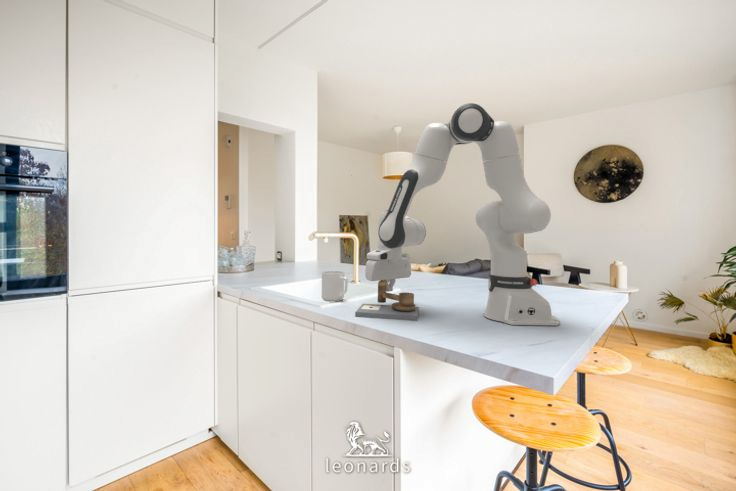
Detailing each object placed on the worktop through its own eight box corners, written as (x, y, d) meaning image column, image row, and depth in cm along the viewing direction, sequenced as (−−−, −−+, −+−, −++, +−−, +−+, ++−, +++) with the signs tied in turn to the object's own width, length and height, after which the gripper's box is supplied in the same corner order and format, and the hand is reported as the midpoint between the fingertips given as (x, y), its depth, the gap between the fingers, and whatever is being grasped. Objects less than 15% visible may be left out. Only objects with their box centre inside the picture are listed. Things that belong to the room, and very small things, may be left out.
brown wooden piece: (420, 309, 117) (420, 284, 117) (404, 312, 112) (404, 287, 112) (386, 300, 130) (387, 278, 129) (370, 303, 124) (371, 280, 124)
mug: (316, 299, 138) (317, 272, 138) (332, 296, 145) (333, 270, 144) (338, 304, 130) (338, 275, 130) (354, 300, 137) (354, 273, 137)
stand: (418, 311, 122) (418, 306, 122) (417, 320, 109) (417, 315, 109) (362, 307, 126) (362, 303, 125) (355, 316, 113) (355, 311, 113)
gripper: (403, 252, 136) (402, 287, 137) (363, 254, 123) (362, 292, 124) (415, 253, 132) (414, 289, 132) (374, 255, 119) (373, 295, 119)
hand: (388, 291), depth 128 cm, fingers closed
